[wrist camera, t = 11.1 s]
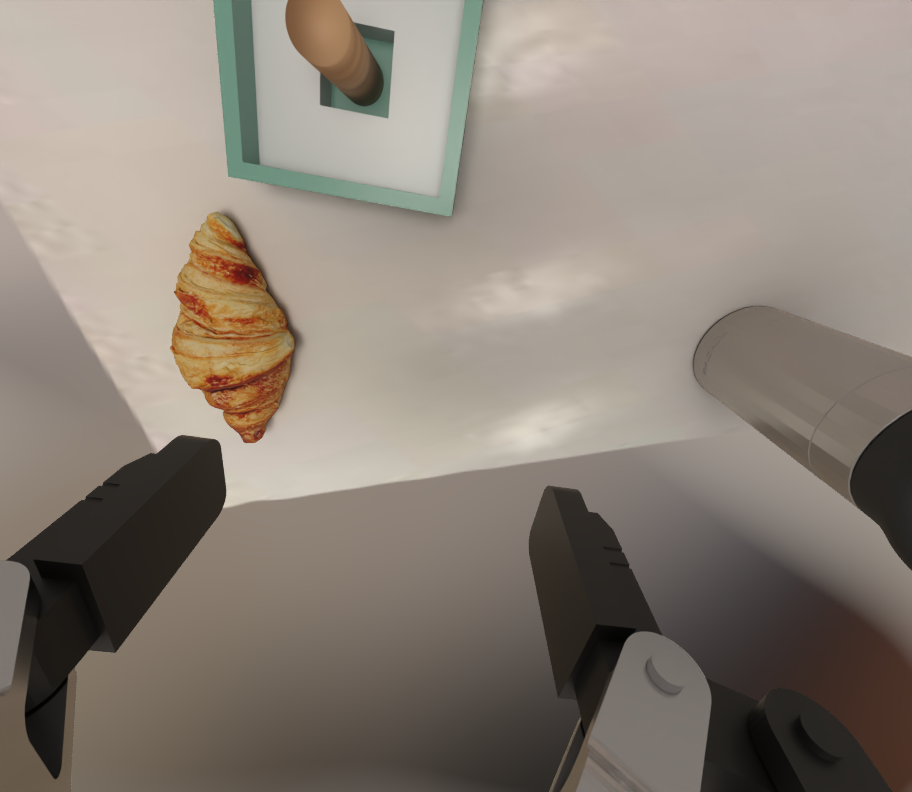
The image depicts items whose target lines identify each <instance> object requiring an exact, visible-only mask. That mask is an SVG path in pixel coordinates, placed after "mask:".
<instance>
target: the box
mask: <svg viewBox="0 0 912 792" xmlns="http://www.w3.org/2000/svg"><path fill="white" fill-rule="evenodd" d="M213 1H214V13H215V25H216V36H217V48H218V60H219V72H220V84H221V95H222V107H223V119H224V131H225V142H226V154H227V166H228V176H229V177H234V178H240V179H245V180H251V181H256V182H262V183H267V184H273V185H278V186H284V187H289V188H295V189H300V190H306V191H311V192H317V193H322V194H328V195H333V196H339V197H344V198H350V199H356V200H361V201H367V202H372V203H378V204H383V205H389V206H394V207H400V208H405V209H411V210H416V211H422V212H427V213H433V214H438V215H444V216H449V217H451V216H452V213H453V206H454V199H455V193H456V186H457V179H458V172H459V165H460V158H461V151H462V145H463V138H464V131H465V124H466V117H467V110H468V103H469V97H470V90H471V83H472V76H473V69H474V62H475V55H476V49H477V42H478V35H479V28H480V21H481V14H482V8H483V1H484V0H340V1H341V2H342V4H343V6H344V7H345V9H346V11H347V12H348V14H349V16H350V17H351V19H352V21H353V22H354V24H355V26H356V27H357V29H358V31H359V32H360V34H361V36H362V37H363V39H364V41H365V42H366V44H367V46H368V48H369V49H370V51H371V53H372V54H373V56H374V58H375V59H376V61H377V63H378V64H379V66H380V68H381V70H382V73H383V79H384V86H383V91H382V94H381V96H380V98H379V99H378V100H377V101H376V102H375V103H374V104H372V105H369V106H360V105H357V104H355V103H354V102H352V101H351V100H350V99H349V98H348V97H347V96H346V95H344V94H343V93H342V92H341V91H340V90H339V89H338V88H337V87H336V86H335V85H333V84H332V83H331V82H330V81H329V80H328V79H327V78H326V77H325V76H324V75H322V74H321V73H320V72H319V71H318V70H317V69H316V68H315V67H314V66H313V65H311V64H310V63H309V62H308V61H307V60H306V59H305V58H304V57H303V56H302V55H301V54H300V53H299V52H298V51H297V50H296V49H295V47H294V46H293V44H292V42H291V40H290V38H289V35H288V32H287V28H286V22H285V11H286V5H287V2H288V0H213Z"/></svg>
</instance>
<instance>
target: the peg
mask: <svg viewBox="0 0 912 792" xmlns="http://www.w3.org/2000/svg"><path fill="white" fill-rule="evenodd" d="M285 22H286V28H287V32H288V35H289V38H290V40H291V42H292V44H293V46H294V47H295V49H296V50H297V51H298V52H299V53H300V54H301V55H302V56H303V57H304V58H305V59H306V60H307V61H308V62H309V63H310V64H311V65H313V66H314V67H315V68H316V69H317V70H318V71H319V72H320V73H321V74H322V75H324V76H325V77H326V78H327V79H328V80H329V81H330V82H331V83H332V84H333V85H335V86H336V87H337V88H338V89H339V90H340V91H341V92H342V93H343V94H344V95H346V96H347V97H348V98H349V99H350V100H351V101H352V102H354V103H355V104H357V105H360V106H369V105H372V104H374V103H375V102H376V101H377V100H378V99H379V98H380V96H381V94H382V91H383V86H384V79H383V73H382V70H381V68H380V66H379V64H378V63H377V61H376V59H375V58H374V56H373V54H372V53H371V51H370V49H369V48H368V46H367V44H366V42H365V41H364V39H363V37H362V36H361V34H360V32H359V31H358V29H357V27H356V26H355V24H354V22H353V21H352V19H351V17H350V16H349V14H348V12H347V11H346V9H345V7H344V6H343V4H342V2H341V1H340V0H288V2H287V5H286V11H285Z"/></svg>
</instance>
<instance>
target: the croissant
mask: <svg viewBox="0 0 912 792" xmlns="http://www.w3.org/2000/svg"><path fill="white" fill-rule="evenodd" d="M189 246H190V249H191V251H192V252H191V254H190V259H189V261H188V263H187V264H185V265H184V266H183V269H182V270H181V272H180V273H179V275H178V283H177V284H176V291H175V292H174V293H175V295H176V296H177V298H178V299H179V300H180V302H181V304H180V309H181V311H180V315H179V318H178V320H177V323H176V325H175V327H174V330H173V334H172V346H171V347H170V349H171V350H172V352H173V354H174V357H175V360H176V364H177V365H178V367H179V369H180V372H181V374H182V376H183V378H184V379H185V381H186V382H187V383H188V385H189V386H191V388H192V389H200V390H202V392H203V393H204V394H205V398H206V400H207V402H208V403H209V405H211V406H213V407H215V408H219V409H222V410H224V412H223V415H224V419H225V421H226V422H227V423H228V425H229V426H230V427H231V428H233V429H234V430H235V431H237V432H238V433H239V434H240V436H241V438H242V439H243V441H244V442H245V443H256V442H257V441H258V440H260V439H261V438H262V437H263V435H264V433H265V431H266V423H267V421H268V419H269V418H271V417H272V416H273V415H274V413H275V412H276V411H277V409H278V408H279V404H280V400H281V396H282V394H283V392H284V388H285V383H286V382H287V380H288V379H289V374H290V365H291V357H292V354H293V352H294V350H295V349H294V338H293V337H292V335H291V334H290V332H289V330H288V323H287V320H286V318H285V316H284V312H283V311H282V310H281V309H279V308H278V306H277V305H276V303H275V301H274V299H272V297H271V295H269V294H268V293H267V292H266V288H267V284H266V282H265V280H264V279H263V277H262V275H261V272H260V271H259V270H258V268H257V267H256V266H255V265H254V264H253V262H252V260H251V258H250V257H249V256H247V251H246V249H245V243H244V240H243V239H242V237H241V236H240V234H239V232H238V230H237V228H236V227H235V225H234V224H233V223H232V222H231V221H230V219H229V218H228V217H226V216H224V215H222V214H220V213H218V212H215V213H211V214H209V215H208V216H207V221H206V222H205V223H204V224H202V225H201V228H200V231H196V232H195V235H194V238H193V239H192V240H191V242H190V244H189Z"/></svg>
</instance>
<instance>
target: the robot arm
mask: <svg viewBox="0 0 912 792" xmlns="http://www.w3.org/2000/svg"><path fill="white" fill-rule="evenodd" d="M694 373H695V376H696V378H697V381H698V382H699V383H700V385H701V386H702V387H703V388H704V389H705V390H707V391H708V392H709V393H710V394H712V395H713V396H714V397H716V398H717V399H718V400H719V401H721V402H722V403H723V404H725V405H726V406H727V407H728V408H729V409H731V410H732V411H733V412H734V413H736V414H737V415H738V416H740V417H741V418H742V419H743V420H745V421H746V422H747V423H749V424H750V425H751V426H752V427H754V428H755V429H756V430H758V431H759V432H760V433H761V434H763V435H764V436H765V437H767V438H768V439H769V440H770V441H772V442H773V443H774V444H776V445H777V446H778V447H779V448H781V449H782V450H784V451H785V452H786V453H787V454H788V455H790V456H791V457H792V458H794V459H795V460H796V461H797V462H799V463H800V464H801V465H803V466H804V467H805V468H807V469H808V470H809V471H810V472H812V473H813V474H814V475H815V476H817V477H818V478H819V479H821V480H822V481H824V482H825V483H826V484H827V485H829V486H830V487H831V488H833V489H834V490H835V491H837V492H838V493H839V494H840V495H842V496H843V497H844V498H845V499H847V500H848V501H849V502H851V503H852V504H853V505H854V506H856V507H857V508H858V509H860V510H861V511H863V512H864V513H865V514H866V515H867V516H869V517H870V518H871V519H872V520H874V521H875V522H876V523H877V524H878V525H879V526H880V527H881V529H882V530H883V532H884V534H885V535H886V537H887V539H888V541H889V543H890V544H891V546H892V548H893V549H894V551H895V552H896V553H897V554H898V556H899V557H900V558H901V560H902V561H903V562H904V563H905V564H906V565H907V566H908V567H909V568H910V569H911V570H912V357H910V356H908V355H905V354H902V353H899V352H896V351H893V350H890V349H888V348H885V347H882V346H879V345H876V344H873V343H871V342H868V341H865V340H862V339H859V338H856V337H854V336H851V335H848V334H845V333H842V332H839V331H837V330H834V329H831V328H828V327H825V326H822V325H820V324H817V323H814V322H811V321H809V320H806V319H803V318H800V317H798V316H795V315H792V314H789V313H786V312H783V311H780V310H778V309H775V308H770V307H765V306H755V307H749V308H744V309H741V310H738V311H736V312H734V313H731V314H729V315H728V316H726V317H725V318H723V319H721V320H720V321H719V322H718V323H716V324H715V325H714V326H713V327H712V328H711V329H710V330H709V331H708V332H707V334H706V335H705V336H704V337H703V339H702V341H701V342H700V344H699V346H698V348H697V351H696V354H695V358H694ZM225 498H226V484H225V476H224V468H223V460H222V452H221V446H220V443H219V442H218V441H217V440H215V439H208V438H200V437H193V436H186V435H181V436H178V437H176V438H175V439H174V440H172V441H171V442H170V443H169V444H168V445H166V446H165V447H164V448H163V449H162V450H161V451H159V452H158V453H157V454H153V453H150V454H148V455H146V456H144V457H142V458H140V459H138V460H135V461H133V462H131V463H129V464H127V465H125V466H123V467H122V468H121V469H119V470H118V471H117V472H116V473H115V474H113V475H112V476H111V477H110V478H108V479H107V480H106V481H105V482H103V485H102V486H98V487H97V488H96V489H95V490H93V491H92V492H91V493H90V494H88V495H87V496H86V499H85V500H81V501H80V502H78V503H77V504H76V505H75V506H73V507H72V508H71V509H70V510H69V511H67V512H66V513H65V514H64V515H62V516H61V517H60V518H58V519H57V520H56V521H55V522H53V523H52V524H51V525H50V526H49V527H47V528H46V529H45V530H44V531H42V532H41V533H40V534H39V535H37V536H36V537H35V538H34V539H33V540H31V541H30V542H29V543H27V544H26V545H25V546H24V547H22V548H21V549H20V550H19V551H18V552H16V553H15V554H14V555H12V556H11V557H10V558H8V559H7V560H6V561H0V792H71V771H72V754H73V736H74V718H75V701H76V683H77V674H76V670H75V668H74V667H75V666H76V665H77V664H78V662H79V661H80V660H81V659H82V658H83V656H84V655H85V654H86V653H87V651H88V650H93V651H103V652H113V653H115V652H116V651H117V650H118V649H119V647H120V646H121V645H122V643H123V642H124V641H125V639H126V638H127V637H128V635H129V634H130V633H131V631H132V630H133V629H134V627H135V626H136V625H137V623H138V622H139V621H140V619H141V618H142V617H143V615H144V614H145V613H146V612H147V610H148V609H149V608H150V606H151V605H152V604H153V602H154V601H155V600H156V598H157V597H158V596H159V594H160V593H161V592H162V590H163V589H164V588H165V586H166V585H167V583H168V582H169V581H170V580H171V578H172V577H173V576H174V574H175V573H176V572H177V570H178V569H179V568H180V566H181V565H182V564H183V562H184V561H185V560H186V558H187V557H188V556H189V554H190V553H191V552H192V550H193V549H194V548H195V546H196V545H197V544H198V542H199V541H200V540H201V538H202V537H203V536H204V534H205V533H206V532H207V530H208V529H209V528H210V526H211V525H212V524H213V522H214V521H215V520H216V518H217V517H218V516H219V514H220V512H221V510H222V508H223V505H224V502H225ZM529 555H530V560H531V565H532V570H533V575H534V580H535V585H536V590H537V595H538V600H539V605H540V610H541V615H542V620H543V625H544V630H545V635H546V640H547V645H548V650H549V655H550V660H551V665H552V670H553V675H554V680H555V685H556V690H557V695H558V698H564V699H574V700H577V702H578V707H579V711H580V715H581V718H580V719H579V721H578V723H577V725H576V728H575V730H574V733H573V735H572V738H571V740H570V742H569V745H568V748H567V750H566V752H565V755H564V757H563V760H562V762H561V764H560V767H559V769H558V772H557V774H556V776H555V779H554V781H553V784H552V786H551V789H550V791H549V792H892V791H891V789H890V788H889V786H888V785H887V783H886V782H885V780H884V779H883V778H882V776H881V775H880V773H879V772H878V770H877V769H876V767H875V766H874V765H873V763H872V762H871V760H870V759H869V757H868V756H867V754H866V753H865V752H864V750H863V749H862V747H861V746H860V745H859V743H858V742H857V740H856V739H855V738H854V737H853V735H852V734H851V733H850V732H849V731H848V730H847V728H846V727H845V726H844V725H843V724H841V722H840V721H838V719H837V718H835V717H834V716H833V715H832V714H831V713H830V712H829V711H827V710H826V709H825V708H823V707H822V706H820V705H819V704H818V703H816V702H815V701H813V700H812V699H810V698H808V697H806V696H804V695H803V694H800V693H798V692H796V691H792V690H789V689H781V688H778V689H773V690H771V691H770V692H769V693H768V694H767V695H766V696H765V697H764V698H763V699H762V700H761V701H760V702H759V701H757V700H755V699H753V698H750V697H748V696H745V695H743V694H741V693H739V692H736V691H734V690H731V689H729V688H727V687H725V686H722V685H720V684H718V683H715V682H713V681H711V680H709V679H707V678H705V677H704V674H703V673H702V671H701V669H700V668H699V666H698V665H697V664H696V662H695V661H694V660H693V659H692V658H691V657H690V655H689V654H687V652H686V651H684V650H683V649H682V648H681V647H680V646H678V645H677V644H676V643H674V642H673V641H671V640H669V639H668V638H666V637H664V636H663V635H662V633H661V632H660V630H659V628H658V625H657V623H656V621H655V619H654V617H653V615H652V613H651V611H650V608H649V606H648V604H647V602H646V600H645V598H644V595H643V593H642V591H641V589H640V587H639V585H638V582H637V580H636V578H635V576H634V574H633V572H632V570H631V569H629V563H628V561H627V559H626V557H625V555H624V553H622V548H621V546H620V544H619V542H618V539H617V538H616V535H615V533H614V531H613V530H612V528H611V527H610V526H609V525H608V524H607V523H606V522H605V521H604V520H603V519H602V518H601V516H600V515H599V514H598V513H593V512H588V510H587V508H586V505H585V503H584V500H583V498H582V495H581V493H580V492H579V491H578V490H576V489H570V488H562V487H555V486H547V487H546V488H545V490H544V493H543V496H542V498H541V501H540V504H539V507H538V510H537V513H536V516H535V519H534V522H533V525H532V528H531V531H530V536H529Z"/></svg>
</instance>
